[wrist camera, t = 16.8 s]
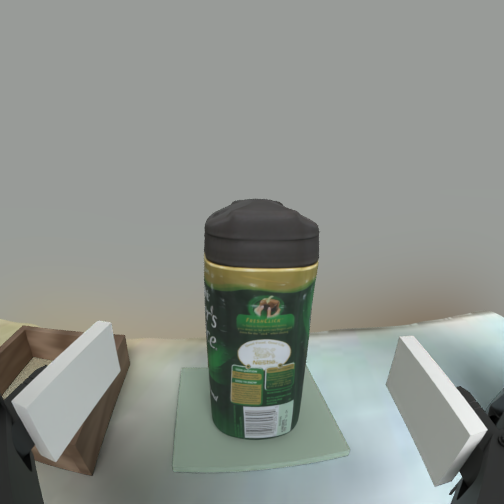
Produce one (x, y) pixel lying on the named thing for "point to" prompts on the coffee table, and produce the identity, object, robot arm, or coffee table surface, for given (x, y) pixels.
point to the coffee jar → (258, 315)
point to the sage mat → (250, 451)
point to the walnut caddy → (50, 347)
